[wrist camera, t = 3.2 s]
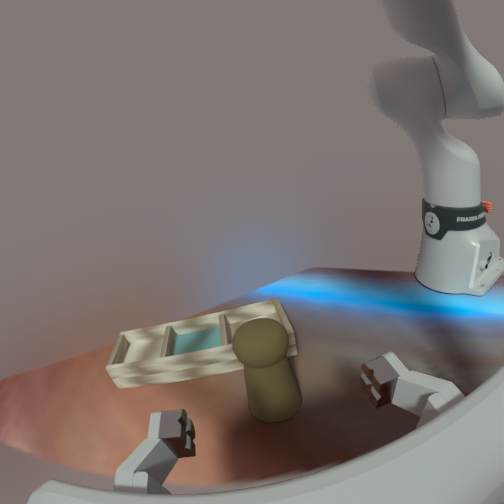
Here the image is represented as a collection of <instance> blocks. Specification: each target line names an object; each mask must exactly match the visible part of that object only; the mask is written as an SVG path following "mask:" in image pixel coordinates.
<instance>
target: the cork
mask: <svg viewBox="0 0 504 504" xmlns="http://www.w3.org/2000/svg"><path fill="white" fill-rule="evenodd" d="M288 346H289V338H288V334H287V331H286V329H285V328H284V327H283V326H282V324H280V323H279V322H278V321H276V320H274V319H270V318H258V319H253V320H250V321H247V322H245V323H244V324H242V325H241V326H240V327H239V328H238V329H237V330H236V332H235V333H234V336H233V339H232V348H233V351H234V354H235V355H236V357H237V359H238V360H239V361H240V362H241V363H242V364H243V365H244V373H245V381H246V388H247V395H248V403H249V409H250V411H251V413H252V415H253V416H254V417H256V418H257V419H258V420H261V421H264V422H271V423H275V422H281V421H284V420H286V419H289V418H291V417H292V416H293V415H294V414H296V413H297V411H298V410H299V408H300V407H301V403H302V397H301V393H300V390H299V388H298V385H297V382H296V380H295V377H294V374H293V372H292V369H291V366H290V364H289V361H288V358H287V356H286V353H287V350H288Z"/></svg>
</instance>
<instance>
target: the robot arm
mask: <svg viewBox="0 0 504 504" xmlns="http://www.w3.org/2000/svg"><path fill="white" fill-rule="evenodd" d="M378 2H379V4H380V6H381V8H382V10H383V13H384V15H385V17H386V20H387V22H388V25H389V26H390V27H391V28H392V30H393V31H394V32H395V33H396V34H397V35H399V36H400V37H401V38H403V39H405V40H406V41H408V42H410V43H412V44H415V45H417V46H420V47H423V48H425V49H428V50H430V51H431V52H433V53H435V55H433V56H425V57H407V58H396V59H392V60H389V61H385V62H382V63H379V64H376V65H374V66H372V68H371V69H370V71H369V74H368V78H367V90H368V94H369V96H370V99H371V101H372V103H373V104H374V106H375V107H376V108H377V109H378V110H379V111H380V112H381V113H382V114H383V115H385V116H386V117H388V118H390V119H391V120H393V121H394V122H396V123H397V124H398V125H399V126H400V127H401V128H402V129H403V130H404V131H405V132H406V133H407V135H408V136H409V138H410V139H411V141H412V142H413V144H414V146H415V148H416V151H417V153H418V157H419V160H420V165H421V171H422V178H423V188H424V198H423V199H422V219H423V223H424V225H423V233H422V241H421V249H420V254H419V255H418V263H417V267H416V270H415V275H416V277H417V279H418V280H419V281H420V282H421V283H422V284H423V285H425V286H427V287H429V288H431V289H433V290H436V291H440V292H444V293H453V294H459V293H466V294H471V295H476V296H482V295H484V294H485V293H486V292H487V290H488V289H489V288H490V287H491V286H492V285H493V284H494V283H495V282H496V280H497V279H498V278H499V277H500V276H501V275H502V273H503V272H504V259H503V258H501V257H500V256H499V250H500V241H499V238H498V236H497V235H496V234H495V233H494V232H493V230H492V229H491V228H490V227H489V226H488V224H487V223H486V219H485V213H484V211H485V212H487V213H491V210H492V209H491V208H492V203H491V202H486V201H482V202H481V180H480V163H479V159H478V157H477V155H476V153H475V152H474V151H473V149H472V148H470V147H469V146H468V145H466V144H465V143H463V142H462V141H460V140H458V139H456V138H454V137H452V136H450V135H449V134H448V133H447V132H446V131H445V130H444V128H443V126H442V123H441V121H442V120H443V119H445V118H446V119H485V118H491V117H497V116H500V115H501V114H502V112H503V110H504V82H503V80H502V78H501V76H500V74H499V73H498V71H497V70H496V69H495V67H493V66H492V64H490V63H489V62H488V61H486V60H485V59H484V58H483V57H482V56H481V55H480V54H479V53H478V52H477V51H476V50H475V48H474V47H473V46H472V44H471V43H470V41H469V40H468V38H467V36H466V34H465V33H464V31H463V28H462V25H461V23H460V19H459V17H458V14H457V10H456V7H455V4H454V1H453V0H378ZM362 371H363V374H362V375H361V385H362V387H363V390H364V391H365V393H366V394H369V395H370V401H371V402H372V404H373V405H374V407H375V408H376V409H377V408H379V407H382V406H384V405H386V404H389V403H391V402H392V404H394V405H396V406H398V407H401V408H403V409H405V410H407V411H409V412H411V413H413V414H415V415H417V416H419V417H420V419H419V422H418V424H417V426H416V428H417V429H415V430H414V431H412V432H410V433H408V434H406V435H404V436H403V437H401V438H399V439H397V440H395V441H393V442H391V443H389V444H387V445H385V446H383V447H380V448H378V449H376V450H374V451H372V452H369V453H367V454H365V455H362V456H360V457H357V458H355V459H352V460H350V461H347V462H345V463H342V464H339V465H336V466H334V467H331V468H328V469H325V470H322V471H318V472H315V473H312V474H308V475H305V476H301V477H298V478H294V479H290V480H286V481H282V482H277V483H273V484H268V485H263V486H258V487H252V488H246V489H239V490H232V491H223V492H214V493H201V494H174V495H173V494H171V493H170V492H169V491H168V490H167V489H166V488H164V487H163V486H162V484H163V482H164V481H165V479H166V478H167V476H168V475H169V473H170V471H171V470H172V468H173V467H174V465H175V464H176V462H177V460H178V458H184V457H193V456H196V453H195V444H194V442H193V440H194V438H195V429H194V425H193V423H192V421H191V419H189V418H187V413H186V411H185V410H184V409H181V410H170V411H158V412H152V414H151V417H150V423H149V430H148V437H147V439H144V440H143V442H142V443H141V444H140V445H139V446H138V447H137V448H136V449H135V450H134V451H133V452H132V454H131V455H130V456H129V457H128V458H127V459H126V460H125V461H124V462H123V463H122V464H121V465H120V466H119V468H118V469H117V470H116V476H115V483H114V489H113V491H110V490H103V489H97V488H91V487H86V486H81V485H76V484H72V483H68V482H63V481H60V480H55V479H52V480H49V481H48V482H46V483H45V484H43V485H42V486H41V487H39V488H38V489H37V490H35V491H34V492H33V493H32V495H31V496H30V498H29V500H28V503H27V504H504V365H503V366H502V367H501V368H500V369H499V370H498V371H497V372H495V373H494V374H493V375H492V376H491V377H490V378H489V379H487V380H486V381H485V382H484V383H483V384H481V385H480V386H479V387H478V388H476V389H475V390H474V391H473V392H471V393H470V394H469V395H467V396H466V397H465V396H464V395H463V394H462V392H461V391H460V390H459V389H458V388H457V387H456V386H455V385H454V384H453V383H452V382H450V381H447V380H443V379H440V378H436V377H433V376H429V375H426V374H422V373H419V372H416V371H413V370H412V371H409V370H408V369H407V368H406V367H405V366H404V365H403V363H402V362H401V361H400V360H399V359H398V358H397V357H396V356H395V354H394V353H393V352H389V353H387V354H384V355H382V356H379V357H377V358H375V359H372V360H370V361H367V362H365V363H363V364H362Z"/></svg>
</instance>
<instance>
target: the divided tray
mask: <svg viewBox="0 0 504 504" xmlns="http://www.w3.org/2000/svg"><path fill="white" fill-rule="evenodd" d="M258 318H270V319H274V320H276V321H278V322H279V323H280V324H282V326H283V327H284V328H285V329H286V331H287V334H288V338H289V346H288V350H287V353H286V356H287V357H291V356H294V355H297V349H296V342H295V335H294V331H293V329H292V327H291V325H290V323H289V320H288V318H287V316H286V314H285V312H284V310H283V308H282V306H281V304H280V302H279V300H278V298H274V299H271V300H267V301H263V302H259V303H255V304H251V305H247V306H243V307H239V308H234V309H230V310H226V311H222V312H218V313H213V314H209V315H204V316H200V317H195V318H191V319H186V320H181V321H177V322H172V323H167V324H162V325H158V326H152V327H147V328H141V329H136V330H131V331H125V332H121V333H120V335H119V337H118V340H117V342H116V344H115V347H114V349H113V351H112V354H111V356H110V359H109V361H108V364H107V366H106V370H107V372H108V374H109V375H110V377H111V378H112V380H113V381H114V383H115V384H116V386H117V387H118V388H129V387H139V386H148V385H156V384H163V383H171V382H177V381H184V380H190V379H195V378H201V377H206V376H212V375H217V374H222V373H226V372H231V371H236V370H240V369H244V365H243V364H242V363H241V362H240V361H239V360H238V359H237V357H236V355H235V354H234V351H233V348H232V339H233V336H234V333H235V332H236V330H237V329H238V328H239V327H240V326H241V325H242V324H244V323H245V322H247V321H250V320H253V319H258Z"/></svg>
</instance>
